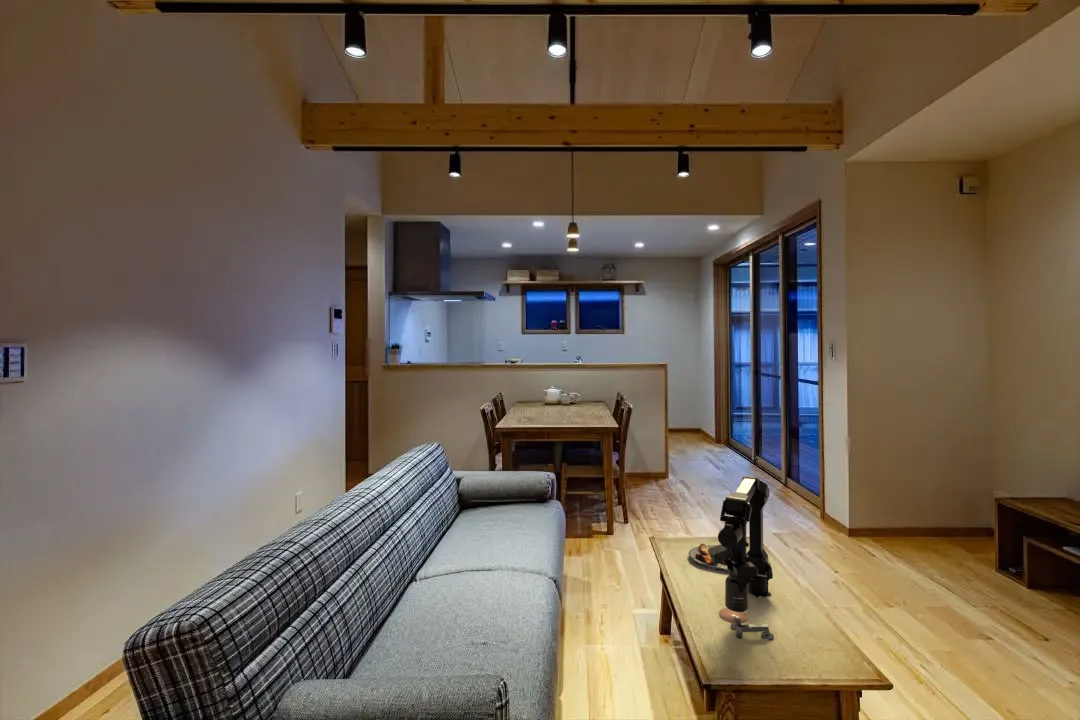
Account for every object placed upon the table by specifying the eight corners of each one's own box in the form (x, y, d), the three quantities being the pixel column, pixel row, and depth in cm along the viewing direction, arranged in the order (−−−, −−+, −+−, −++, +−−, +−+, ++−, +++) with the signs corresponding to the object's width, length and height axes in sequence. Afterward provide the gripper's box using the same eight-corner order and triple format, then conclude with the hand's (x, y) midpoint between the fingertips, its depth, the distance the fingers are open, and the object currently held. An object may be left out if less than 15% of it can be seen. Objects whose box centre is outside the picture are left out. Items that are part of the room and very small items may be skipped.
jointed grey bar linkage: (753, 621, 177) (753, 610, 177) (776, 639, 167) (776, 627, 167) (723, 626, 174) (723, 615, 174) (744, 644, 164) (744, 632, 164)
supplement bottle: (737, 615, 169) (737, 576, 168) (720, 605, 175) (720, 568, 174) (753, 609, 172) (753, 571, 172) (736, 600, 178) (736, 563, 178)
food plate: (680, 563, 224) (680, 554, 223) (699, 545, 243) (700, 537, 243) (744, 579, 209) (745, 570, 209) (759, 559, 229) (760, 551, 228)
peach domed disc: (737, 607, 186) (737, 606, 186) (754, 620, 178) (754, 619, 178) (713, 611, 184) (713, 610, 184) (729, 624, 175) (729, 623, 175)
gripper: (701, 527, 182) (701, 574, 182) (721, 549, 163) (721, 602, 164) (735, 527, 182) (735, 574, 183) (758, 548, 163) (758, 601, 164)
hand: (736, 587), depth 173 cm, fingers closed on supplement bottle, 7 cm apart
